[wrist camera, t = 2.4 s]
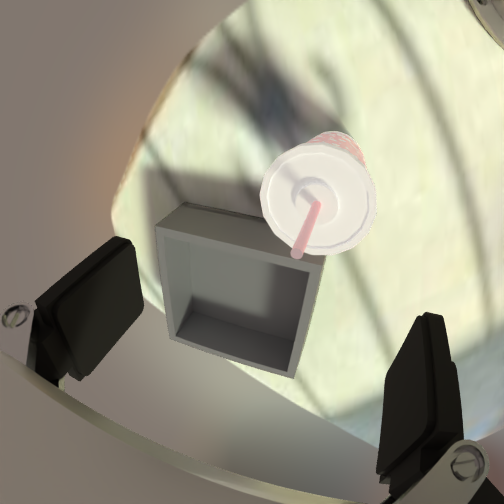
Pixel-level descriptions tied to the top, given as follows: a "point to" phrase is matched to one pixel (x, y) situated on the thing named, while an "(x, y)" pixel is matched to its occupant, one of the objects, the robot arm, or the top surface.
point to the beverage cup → (320, 196)
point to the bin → (236, 287)
